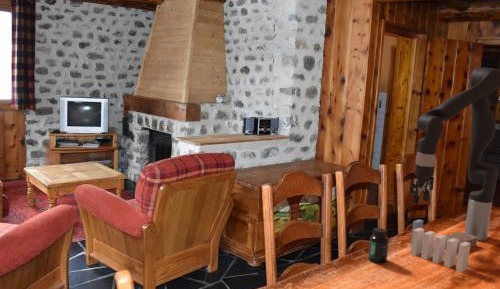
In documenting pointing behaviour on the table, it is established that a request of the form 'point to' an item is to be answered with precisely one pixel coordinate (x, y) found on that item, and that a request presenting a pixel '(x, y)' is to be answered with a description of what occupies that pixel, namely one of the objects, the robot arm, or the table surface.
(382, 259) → the supplement bottle
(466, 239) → the brick
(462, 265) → the tile
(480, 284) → the table surface
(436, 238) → the tile
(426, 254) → the tile
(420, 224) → the tile
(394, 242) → the table surface
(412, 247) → the tile
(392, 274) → the table surface
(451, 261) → the tile
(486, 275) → the table surface
